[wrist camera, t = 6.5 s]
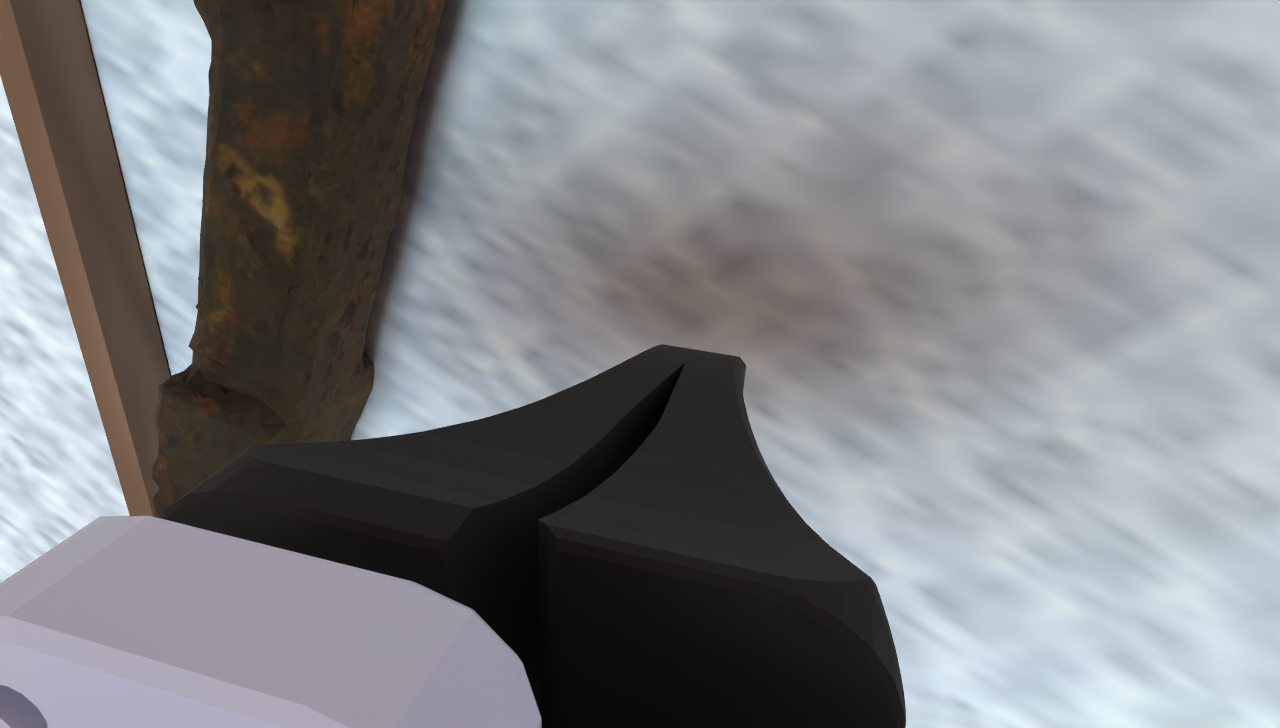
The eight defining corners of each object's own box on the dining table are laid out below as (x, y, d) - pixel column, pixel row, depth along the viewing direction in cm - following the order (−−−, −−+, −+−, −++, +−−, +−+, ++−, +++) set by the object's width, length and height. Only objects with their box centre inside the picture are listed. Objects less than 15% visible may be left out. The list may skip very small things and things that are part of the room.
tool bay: (441, -624, 11) (381, -708, 10) (501, 718, 23) (478, 762, 21) (-94, -554, 13) (-202, -614, 12) (213, 638, 25) (176, 674, 23)
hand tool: (354, -416, 12) (98, -611, 8) (578, -316, 12) (424, -468, 8) (224, 459, 22) (73, 565, 18) (349, 526, 21) (225, 650, 17)
